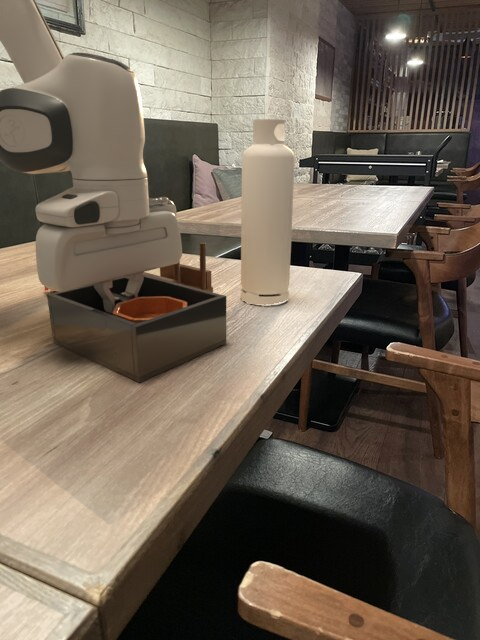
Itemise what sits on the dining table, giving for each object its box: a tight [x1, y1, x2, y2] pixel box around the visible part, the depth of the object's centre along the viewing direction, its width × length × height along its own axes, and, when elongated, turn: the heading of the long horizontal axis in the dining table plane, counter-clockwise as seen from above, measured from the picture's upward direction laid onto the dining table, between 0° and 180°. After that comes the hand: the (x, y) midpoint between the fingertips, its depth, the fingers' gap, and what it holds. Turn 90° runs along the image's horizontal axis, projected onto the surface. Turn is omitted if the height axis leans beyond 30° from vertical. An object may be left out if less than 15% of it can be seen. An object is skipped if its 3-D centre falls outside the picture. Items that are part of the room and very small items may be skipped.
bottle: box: [240, 118, 296, 305], centre depth 78 cm, size 8×8×28 cm
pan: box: [101, 292, 188, 324], centre depth 63 cm, size 14×9×3 cm, turn 50°
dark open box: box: [46, 274, 227, 383], centre depth 64 cm, size 18×15×7 cm
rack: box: [143, 242, 214, 293], centre depth 85 cm, size 12×10×9 cm
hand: (121, 308), depth 65 cm, fingers closed on pan
